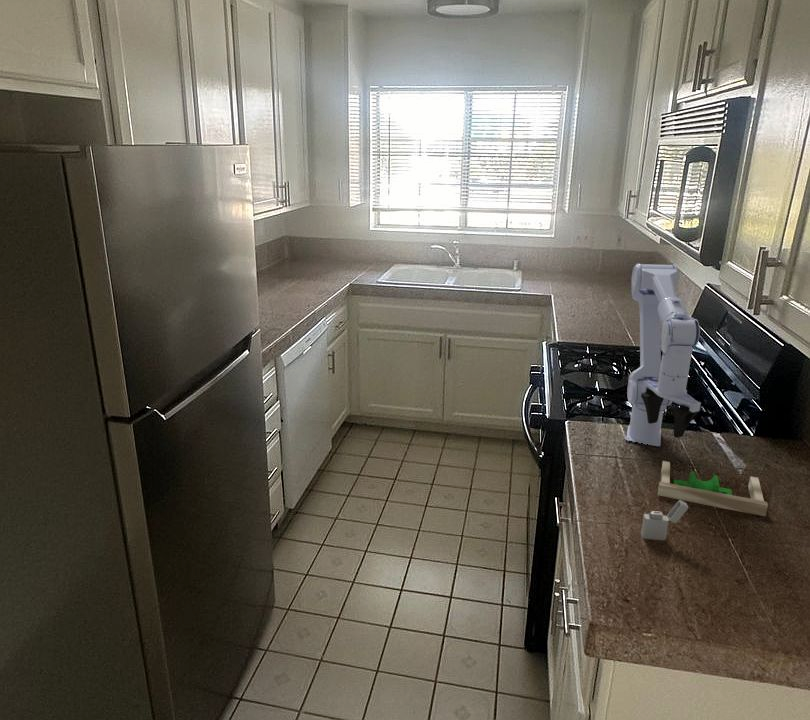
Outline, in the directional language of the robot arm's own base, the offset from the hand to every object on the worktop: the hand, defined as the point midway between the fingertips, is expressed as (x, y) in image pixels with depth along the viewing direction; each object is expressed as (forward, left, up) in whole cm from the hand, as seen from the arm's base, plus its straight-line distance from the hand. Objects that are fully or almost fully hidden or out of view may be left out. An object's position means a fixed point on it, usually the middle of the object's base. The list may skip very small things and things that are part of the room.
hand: (664, 429), depth 136 cm
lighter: (+29, +1, -10) cm, 31 cm away
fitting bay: (+7, +10, -9) cm, 15 cm away
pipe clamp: (+7, +9, -8) cm, 13 cm away
